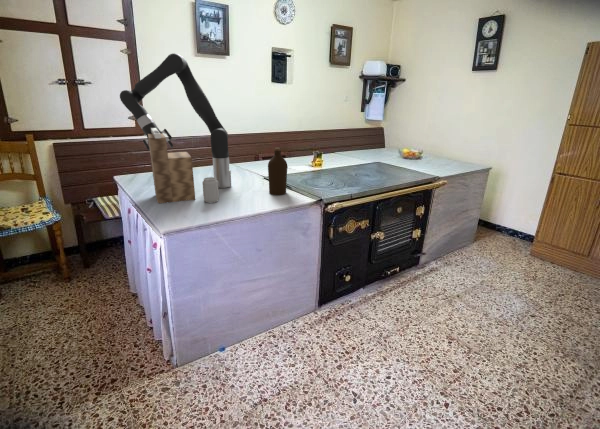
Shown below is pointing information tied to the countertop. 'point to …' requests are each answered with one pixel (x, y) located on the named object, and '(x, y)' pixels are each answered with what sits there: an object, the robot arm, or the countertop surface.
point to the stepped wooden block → (171, 172)
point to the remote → (155, 133)
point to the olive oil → (277, 174)
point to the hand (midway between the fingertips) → (165, 151)
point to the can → (210, 190)
